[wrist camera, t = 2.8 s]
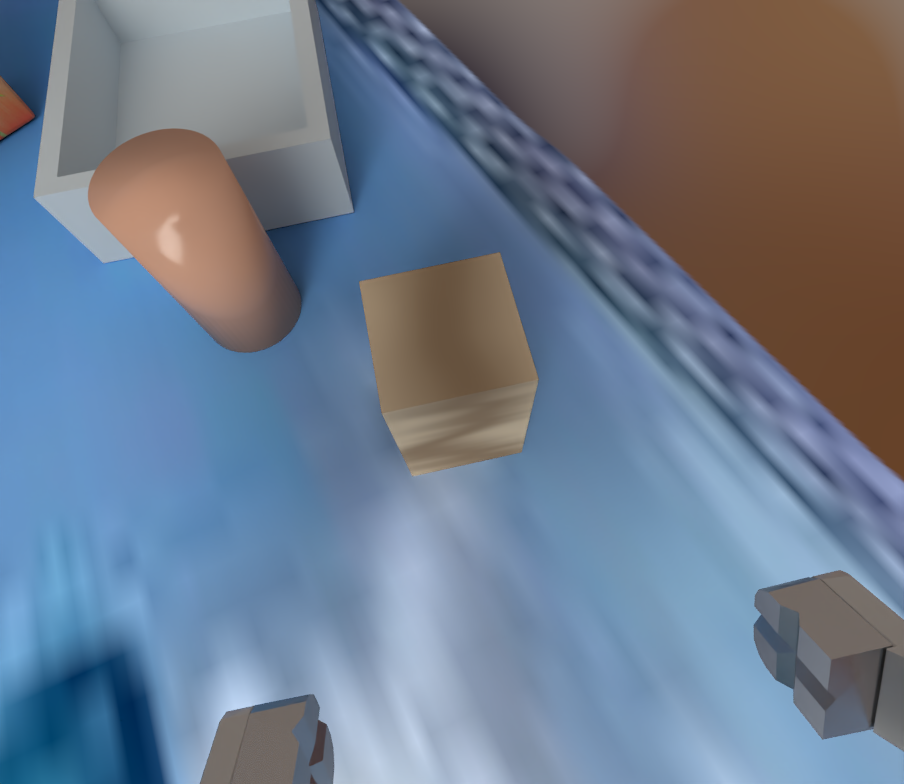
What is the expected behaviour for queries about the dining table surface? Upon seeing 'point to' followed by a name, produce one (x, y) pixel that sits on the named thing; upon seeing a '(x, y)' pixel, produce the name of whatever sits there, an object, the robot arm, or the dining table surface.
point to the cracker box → (12, 110)
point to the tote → (193, 103)
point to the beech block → (450, 362)
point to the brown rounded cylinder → (197, 236)
